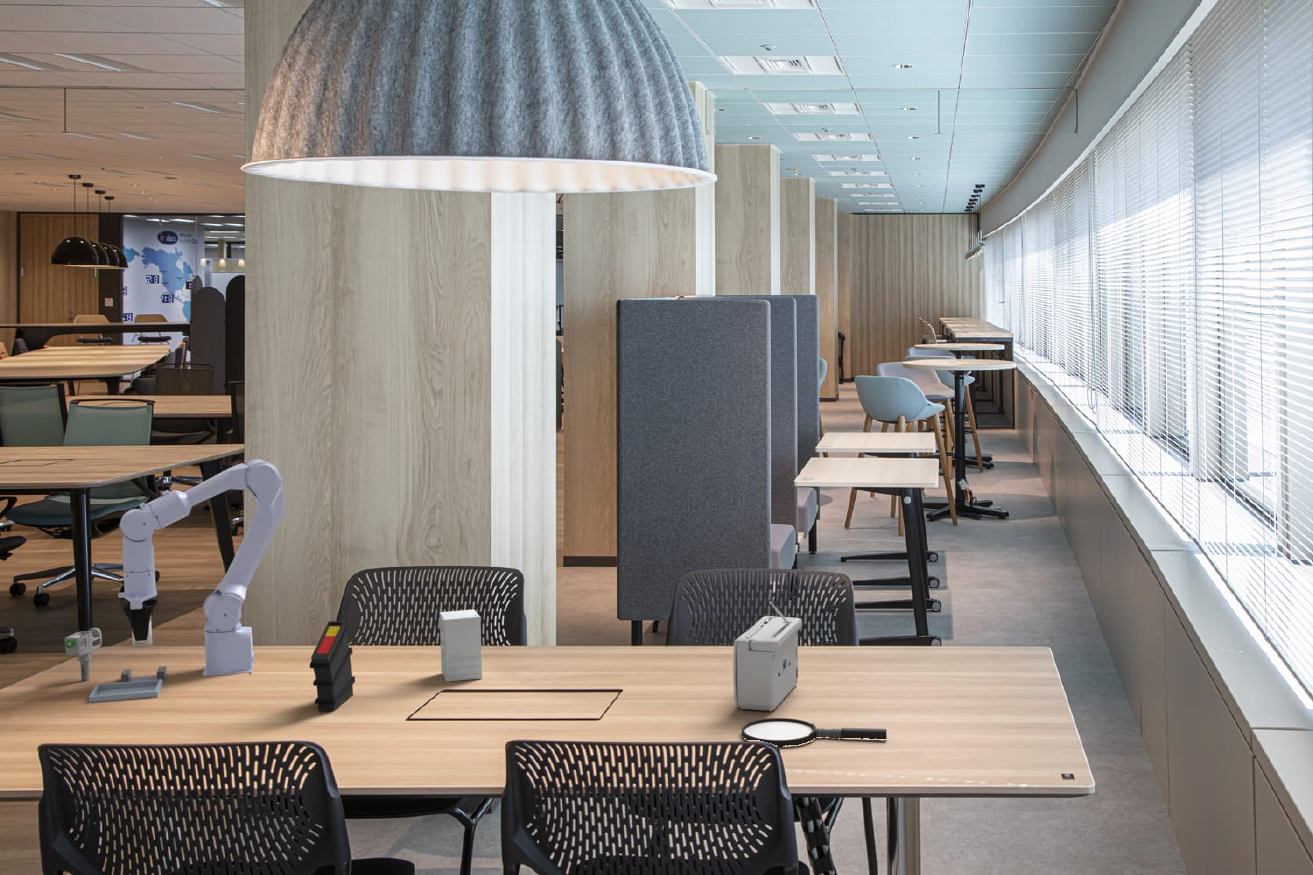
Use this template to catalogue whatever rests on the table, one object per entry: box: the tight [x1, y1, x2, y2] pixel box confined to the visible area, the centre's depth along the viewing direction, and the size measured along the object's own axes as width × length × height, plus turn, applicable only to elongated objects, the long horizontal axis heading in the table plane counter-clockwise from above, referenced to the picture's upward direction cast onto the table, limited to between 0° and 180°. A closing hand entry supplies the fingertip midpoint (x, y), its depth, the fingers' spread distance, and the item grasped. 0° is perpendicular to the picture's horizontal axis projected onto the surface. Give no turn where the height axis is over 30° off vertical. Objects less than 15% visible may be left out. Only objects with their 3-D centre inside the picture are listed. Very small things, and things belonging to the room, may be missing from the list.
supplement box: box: [439, 609, 483, 683], centre depth 255 cm, size 7×7×13 cm
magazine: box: [309, 620, 356, 712], centre depth 237 cm, size 4×13×15 cm, turn 174°
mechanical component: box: [64, 627, 103, 682], centre depth 255 cm, size 3×10×10 cm, turn 174°
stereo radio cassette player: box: [732, 600, 803, 712], centre depth 237 cm, size 21×8×20 cm, turn 160°
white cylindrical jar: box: [131, 617, 153, 649], centre depth 254 cm, size 4×4×6 cm
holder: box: [120, 665, 169, 683], centre depth 255 cm, size 8×5×2 cm, turn 105°
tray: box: [88, 679, 164, 704], centre depth 245 cm, size 12×9×2 cm
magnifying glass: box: [741, 717, 888, 749], centre depth 214 cm, size 12×24×2 cm, turn 81°
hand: (142, 637), depth 254 cm, fingers closed on white cylindrical jar, 4 cm apart
